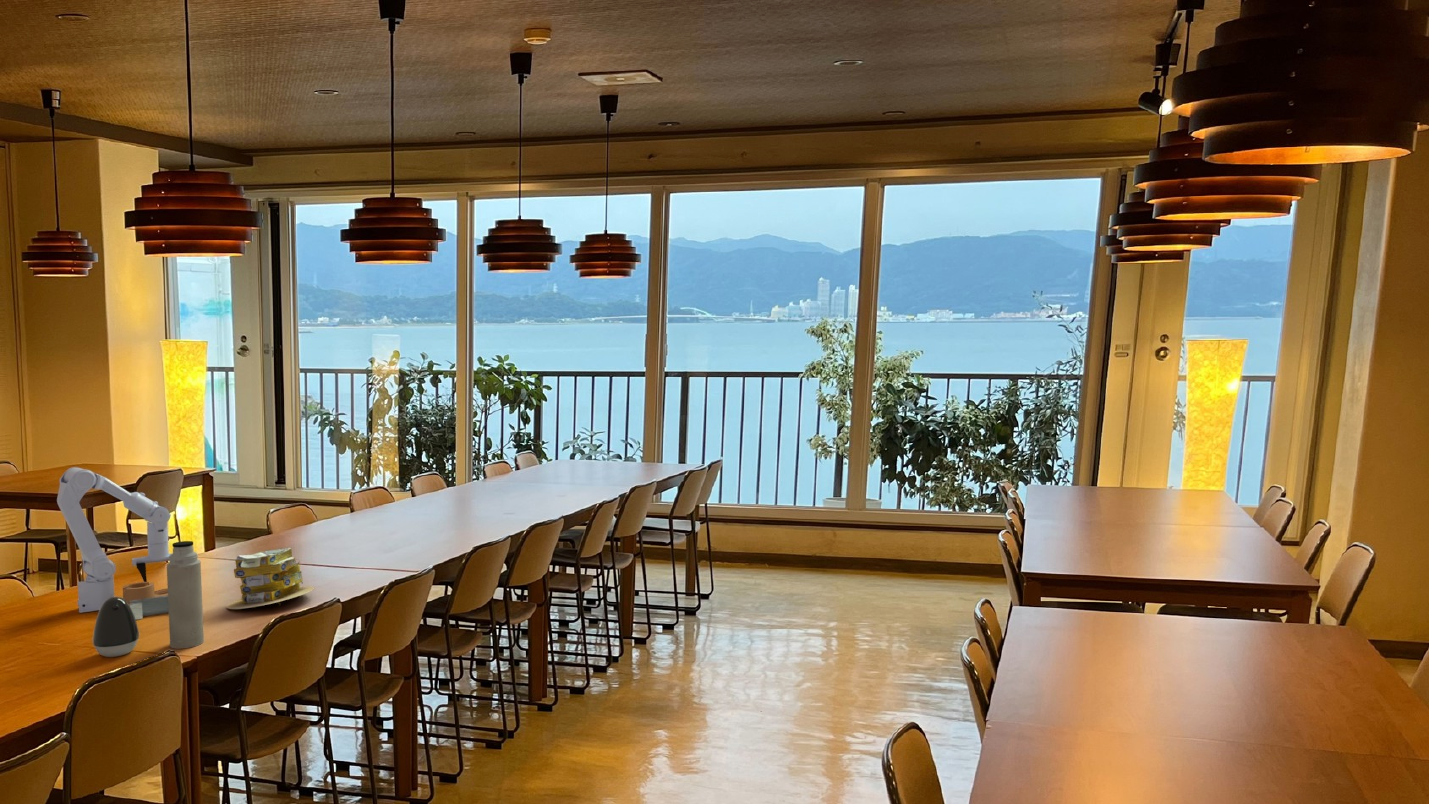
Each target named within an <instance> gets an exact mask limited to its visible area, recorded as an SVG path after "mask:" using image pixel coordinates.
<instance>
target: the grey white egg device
mask: <svg viewBox="0 0 1429 804" xmlns="http://www.w3.org/2000/svg"><path fill="white" fill-rule="evenodd" d="M139 638H140V631H139V627H138V623H137V620H136V619H135V617H134V614H133V612H132V609H131V607H130V606H129V604H128V603H127V602H126V601H125V600H124V599H123V597H121V596H114V597H112V598H109V599H107V600H106V601H105V602H104V603H103V605H102V606H101V608H100V610H98V613H97V616H96V619H95V624H94V628H93V635H92V645H93V646H94V649H95V650H96V652H97V653H98V654H99V655H101V656H102V657H107V658H114V657H115V658H116V657H121V656H125V655H127V654H129V653H130V652H132V651H133V650H134V649H135V647H136V646H137V644H138V640H139Z"/></svg>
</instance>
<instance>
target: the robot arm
mask: <svg viewBox="0 0 1429 804" xmlns="http://www.w3.org/2000/svg"><path fill="white" fill-rule="evenodd" d="M91 489H94V490H101V491H104V492H105V493H106V494H109V495H111V496H113V497H114V498H116V499H119V500H120V501H122V503H123V506H124V508H125V509H127V510H128V511H131V512H132V513H134V514H136V515H137V516H139V517H141V518H143V519H144V521H146V524H147V525H146V526H147V528H146V533H147V535H146V537H147V555H146V556H141V557H140V556H139V557H133V558H131V560H132V561H131V565H132V566H136V569H137V571H138V573H139V574H140V576H141V578H142V580H143V581H142V582H148V580H147V567H146V564H152V563H153V564H154V563H161V562H162V563H163V562H170V561H169V556H170V555H171V554H173V552H172V553H170V552H169V551H170V549H169V548H170V547H169V531H168V530H169V528H168V522H169V521H170V519H171V516H172V515H171V513H170V511H169V509H167V508H166V507H165V506H160V504H159V502H158V501H156V500H152V499H150V498H148V497H146V494H145V493H144V492H142V491H141V492H138V491H134V492H130V491H128V490H126V489H125V488H123V487H122V486H120V485H118V484H117V483H115V482H113V481H112V480H111V479H109V478H108V477H106V476H103V475H100V474H98V473H96V472H93V471H92V470H90V469H84V468H81V467H78V466H73V467H70V468H68V469H67V470H65V471H64V473H62V475H61V477H60V478H59V488H58V492H57V498H56V502H57V505H58V507H59V510H60V512H61V513H62V515H63V517H64V520H65V521H66V524H67V525H68V528H69V530H70V532H71V534H72V537H73V538H74V541H75V543H76V545H77V546H78V550H79V551H80V554H81V555H80V558H81V560H82V570H83V572H84V574H86V577H85V580H83V581H78V582H77V592H78V593H77V596H78V598H77V599H78V600H77V607H78V613H79V614H80V613H81V614H82V613H88V612H97V611H99V610H100V608H101V606H102V605H103V603H104V602H105V601H106V600H107V599H109V598H112V597H115V581H114V576H115V575H114V574H115V573H116V569H117V568H116V564H115V562H113V561H112V560H110V558H108V555H107V553H105V551H104V550H103V549H102V548H101V546H100V543H99V542H98V540H97V538H96V535H95V533H94V531H93V529H92V527H91V525H90V523H89V521H88V519H87V517H86V514H85V513H84V510H83V508H82V506H81V504H80V502H81V500H82V499H83V497H84V495H85V494H86V493H88V491H89V490H91Z"/></svg>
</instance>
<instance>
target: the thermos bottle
mask: <svg viewBox="0 0 1429 804" xmlns="http://www.w3.org/2000/svg"><path fill="white" fill-rule="evenodd" d="M193 545H194V541H193V540H192V541H191V540H183V541H176V542H173V543H172V553H173V554H172V553H170V554H171V555H170V556H169V561H168V563H167V564H166V578H167V579H166V581H167V588H168V608H169V613H168V626H169V627H168V628H169V629H168V630H169V631H168V632H169V646H170V648H172V649H181V650H182V649H189V648H193V647H197V646H200V645H202V644H204V642H205V640H204V639H205V637H204V635H205V634H204V633H205V631H204V614H203V612H204V610H203V592H202V591H203V590H202V588H203V587H202V567H201V566H202V565H201V560H199V559H198V557H199V555H198V552H196V551H194V546H193Z"/></svg>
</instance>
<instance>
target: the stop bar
mask: <svg viewBox="0 0 1429 804" xmlns="http://www.w3.org/2000/svg"><path fill="white" fill-rule="evenodd" d="M130 607H131V609H132V612H133V614H134V617H135V619H136V621H137V620H143V617H148V616H154V615H155V616H156V615H161V614H163V615H164V614H169V608H168V596H161V597H153V598H146V599H138V600H130Z"/></svg>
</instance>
